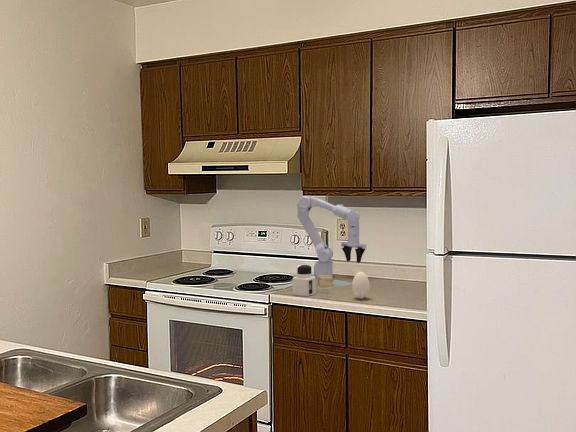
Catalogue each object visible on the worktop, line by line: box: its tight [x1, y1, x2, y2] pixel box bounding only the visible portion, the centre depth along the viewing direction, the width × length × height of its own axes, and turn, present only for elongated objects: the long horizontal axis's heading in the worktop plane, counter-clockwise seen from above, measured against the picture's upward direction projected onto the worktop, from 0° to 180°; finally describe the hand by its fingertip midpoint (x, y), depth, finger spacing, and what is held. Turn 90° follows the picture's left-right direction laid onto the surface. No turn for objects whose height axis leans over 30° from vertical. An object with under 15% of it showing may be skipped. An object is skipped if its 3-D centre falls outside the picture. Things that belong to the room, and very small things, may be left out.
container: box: [292, 264, 317, 297], centre depth 271 cm, size 8×8×13 cm
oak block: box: [317, 275, 334, 287], centre depth 288 cm, size 6×6×4 cm
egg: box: [351, 271, 371, 300], centre depth 260 cm, size 7×7×12 cm
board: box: [316, 279, 353, 290], centre depth 290 cm, size 14×21×1 cm, turn 131°
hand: (353, 261), depth 304 cm, fingers open, 6 cm apart
